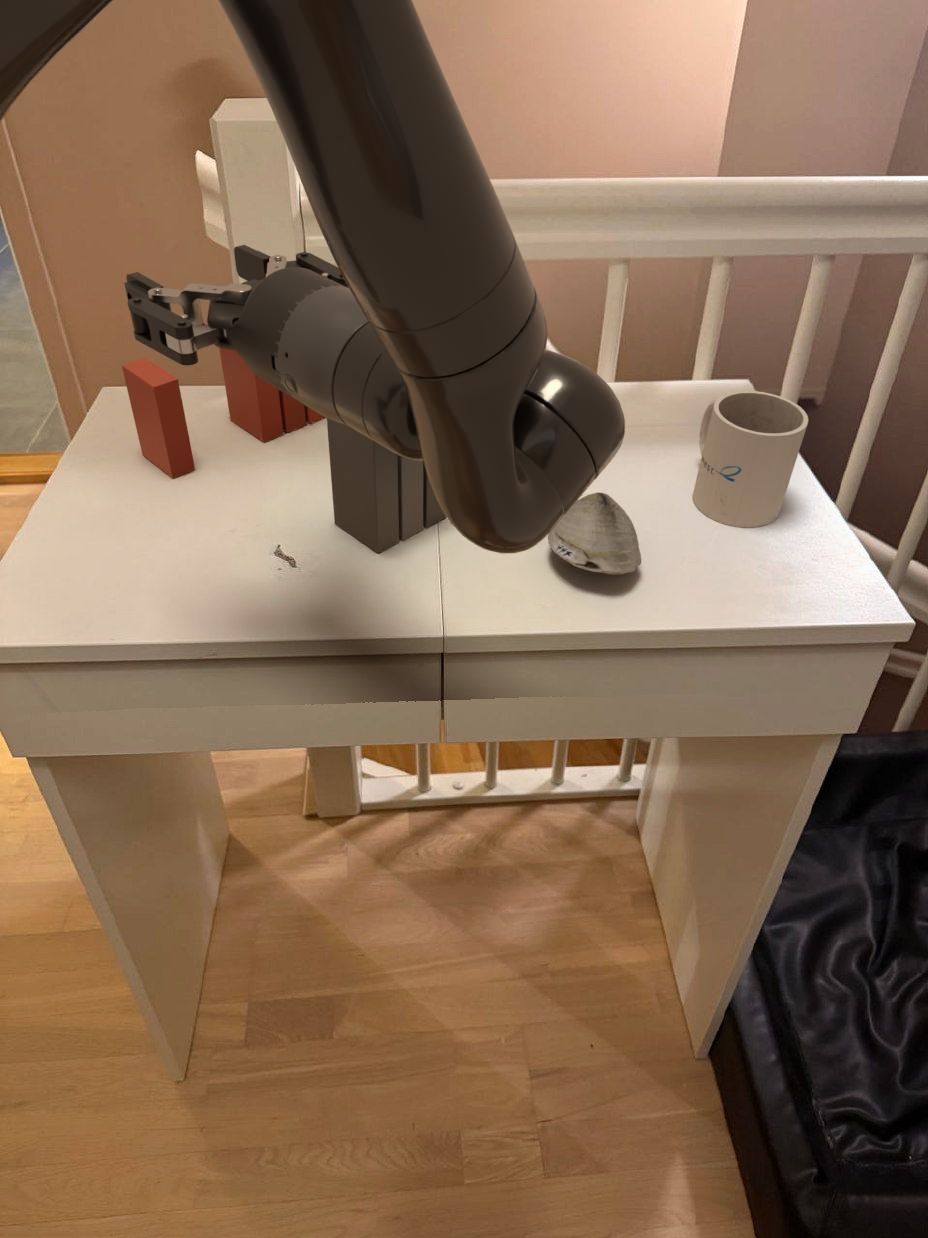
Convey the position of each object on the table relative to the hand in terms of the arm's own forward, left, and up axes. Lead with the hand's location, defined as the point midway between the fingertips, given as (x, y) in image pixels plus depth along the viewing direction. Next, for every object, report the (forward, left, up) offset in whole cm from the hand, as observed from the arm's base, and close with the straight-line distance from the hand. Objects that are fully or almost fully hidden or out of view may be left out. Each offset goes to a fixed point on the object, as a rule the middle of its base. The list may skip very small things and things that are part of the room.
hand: (187, 272), depth 64 cm
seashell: (+30, -12, -26) cm, 41 cm away
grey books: (+15, 0, -26) cm, 30 cm away
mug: (+48, -9, -26) cm, 56 cm away
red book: (-2, +19, -26) cm, 32 cm away
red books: (+11, +23, -26) cm, 36 cm away
